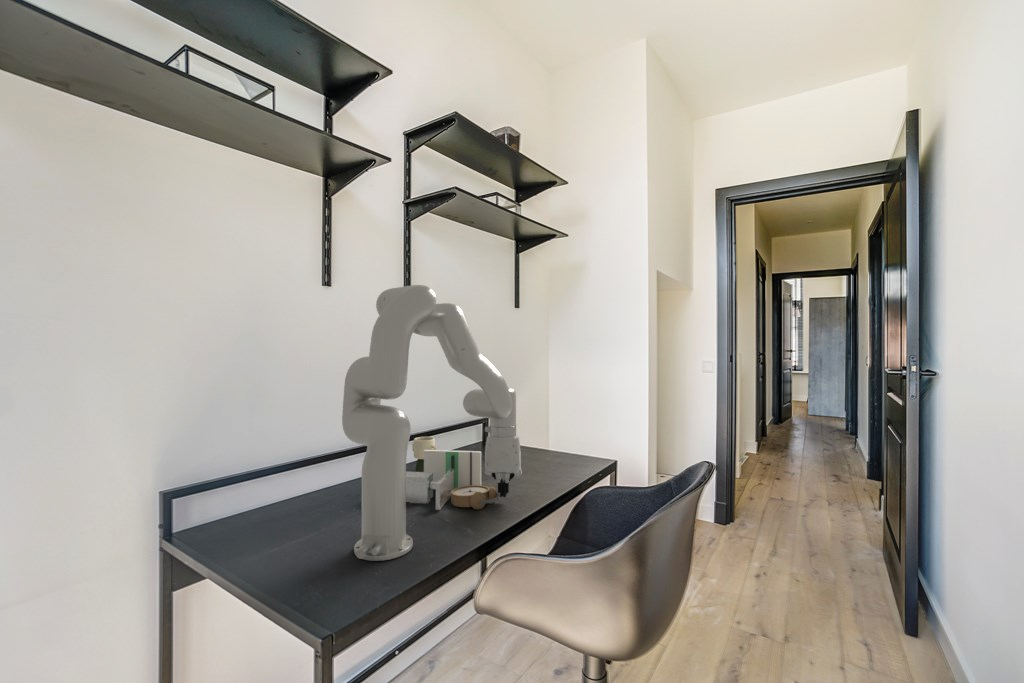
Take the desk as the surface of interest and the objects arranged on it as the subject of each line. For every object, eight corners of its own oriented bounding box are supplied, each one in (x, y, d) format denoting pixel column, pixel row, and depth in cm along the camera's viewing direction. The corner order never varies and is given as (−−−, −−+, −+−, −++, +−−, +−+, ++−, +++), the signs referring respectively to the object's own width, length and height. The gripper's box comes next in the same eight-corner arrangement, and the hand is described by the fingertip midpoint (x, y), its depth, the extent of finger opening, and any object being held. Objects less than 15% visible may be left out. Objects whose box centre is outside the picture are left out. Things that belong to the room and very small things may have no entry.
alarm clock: (467, 483, 141) (506, 483, 133) (469, 500, 141) (509, 501, 132) (441, 493, 132) (481, 493, 124) (443, 510, 132) (484, 512, 123)
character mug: (443, 476, 158) (443, 438, 158) (428, 481, 152) (428, 442, 152) (420, 471, 164) (420, 435, 164) (405, 476, 158) (405, 438, 158)
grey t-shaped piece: (439, 510, 126) (440, 470, 126) (400, 508, 127) (400, 469, 127) (455, 490, 143) (455, 455, 143) (419, 488, 144) (420, 454, 144)
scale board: (480, 491, 142) (480, 452, 142) (423, 489, 144) (423, 450, 144) (481, 490, 144) (481, 451, 144) (425, 487, 146) (425, 449, 146)
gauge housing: (427, 503, 132) (427, 477, 132) (383, 501, 133) (383, 476, 133) (433, 497, 137) (433, 472, 137) (390, 495, 139) (390, 470, 139)
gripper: (474, 433, 129) (475, 499, 129) (528, 434, 127) (528, 501, 128) (479, 428, 137) (480, 490, 137) (530, 429, 135) (530, 492, 135)
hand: (503, 495), depth 132 cm, fingers closed
